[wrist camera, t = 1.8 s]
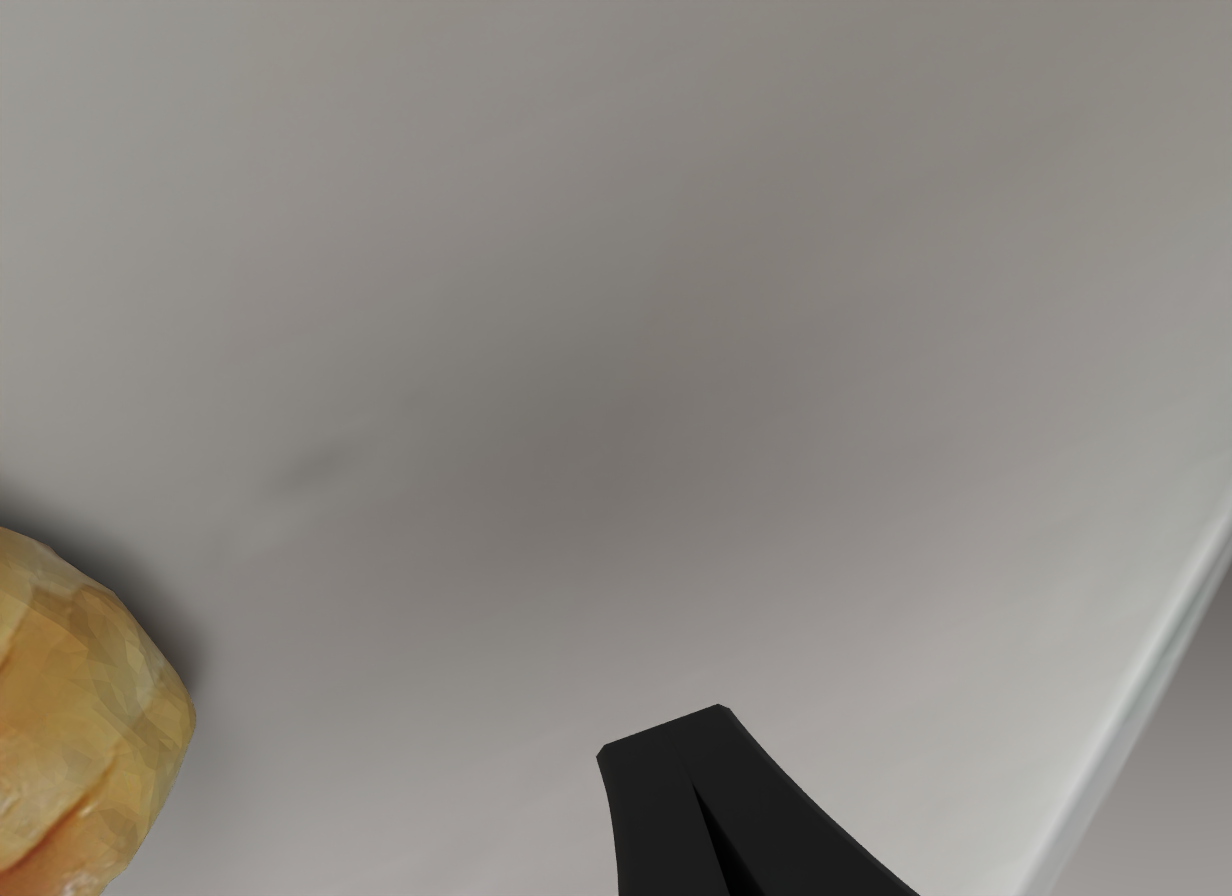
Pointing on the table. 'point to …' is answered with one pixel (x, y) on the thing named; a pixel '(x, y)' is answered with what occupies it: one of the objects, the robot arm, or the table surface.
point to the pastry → (78, 727)
